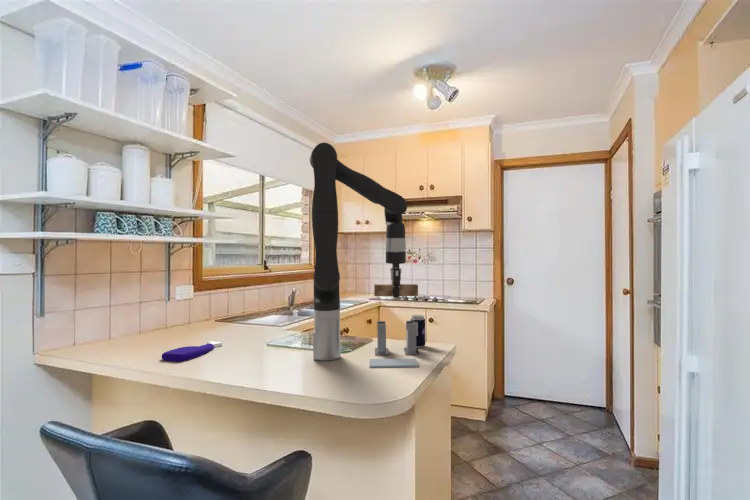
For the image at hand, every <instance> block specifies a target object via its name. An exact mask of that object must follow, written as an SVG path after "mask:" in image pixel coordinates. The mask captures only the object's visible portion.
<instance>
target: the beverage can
mask: <svg viewBox="0 0 750 500" xmlns="http://www.w3.org/2000/svg"><path fill="white" fill-rule="evenodd" d="M410 321H414V324H416V347H417V349H420V348H421V349H422V348H424V347H425V345H426V318H425V315H423V314H413V315H411V318H410Z"/></svg>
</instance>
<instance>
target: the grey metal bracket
mask: <svg viewBox="0 0 750 500" xmlns="http://www.w3.org/2000/svg"><path fill="white" fill-rule="evenodd" d="M376 324H377V325H376V327H377V328H376V329H377V330H376V331H377V332H376V334H377V335H376V336H377V341H376V342H377V345H376V346H377V347H375V348H374V355H375V356H390V352H389V348H388V347H387V326H386V325H387V324H386V321H385V320H377V321H376Z"/></svg>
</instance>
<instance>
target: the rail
mask: <svg viewBox="0 0 750 500" xmlns="http://www.w3.org/2000/svg"><path fill="white" fill-rule="evenodd" d="M373 288H374V290H373V293H374V297H393V284H392V283H381V284H379V283H378V284H376V283H374V287H373ZM399 297H419V285H418V284H417V283H412V284H411V283H400V287H399Z"/></svg>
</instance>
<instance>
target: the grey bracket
mask: <svg viewBox="0 0 750 500" xmlns="http://www.w3.org/2000/svg"><path fill="white" fill-rule="evenodd" d="M405 327H406V329H405V334H406V336H405V337H406V338H405V339H406V340H405V341H406V345H405V347H403V351H404V354H405V356H419V355H420V351H419V348H417V347H416V324H414V321H411V320H406V321H405Z"/></svg>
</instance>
